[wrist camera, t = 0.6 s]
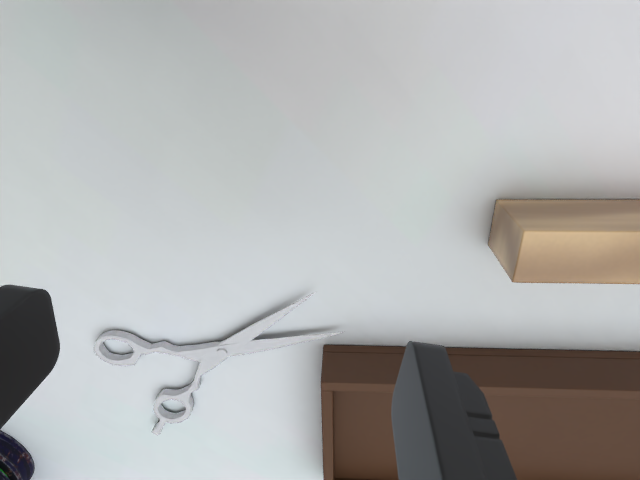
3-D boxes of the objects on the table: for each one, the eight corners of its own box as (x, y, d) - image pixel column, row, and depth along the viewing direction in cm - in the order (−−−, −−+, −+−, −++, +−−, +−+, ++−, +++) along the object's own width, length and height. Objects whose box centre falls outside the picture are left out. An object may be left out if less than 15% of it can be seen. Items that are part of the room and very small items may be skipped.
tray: (323, 344, 31) (320, 382, 28) (766, 354, 29) (820, 396, 26) (326, 474, 38) (324, 517, 35) (683, 488, 37) (717, 535, 33)
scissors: (71, 350, 32) (296, 254, 27) (77, 344, 33) (297, 248, 27) (155, 435, 36) (364, 366, 31) (158, 428, 37) (364, 359, 32)
